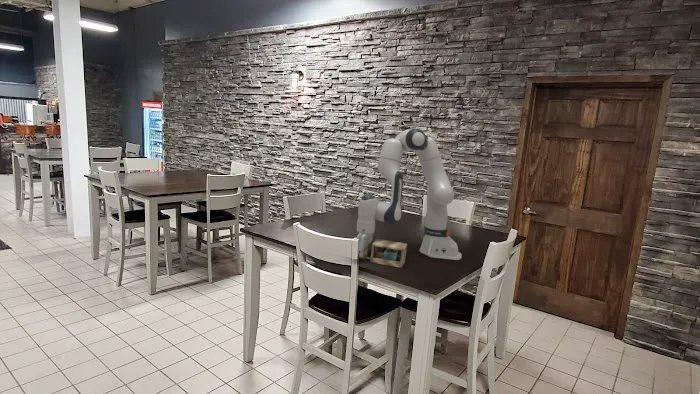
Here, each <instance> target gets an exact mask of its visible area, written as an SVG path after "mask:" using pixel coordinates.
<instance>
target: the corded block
mask: <svg viewBox="0 0 700 394" xmlns="http://www.w3.org/2000/svg"><path fill="white" fill-rule="evenodd" d="M368 249H369V248H367V247H366V248H365V249H364V256H363V257H362V256H360V251H358V252H359V253H358V254H359V255H358V258H359V259H362V260H366V259H367V260H368V259H369V260H371V256H368V252H369V250H368ZM399 251H400V250H396V249H390V248H386V250H385V251H384V258H383V259H387V260H393V261H398V256H399ZM398 262H399V261H398Z"/></svg>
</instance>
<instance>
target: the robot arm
mask: <svg viewBox="0 0 700 394" xmlns="http://www.w3.org/2000/svg"><path fill="white" fill-rule="evenodd" d="M381 147H382V148H381V150H380V154H379V156H378V161H377V170H378V172H379V174H380V175H381V176H382V177H383V178H385V180H387V181H388V182H389V183H390V186H391V190H390V191H391V193H390V194H391V195H390V202H387V201H382V200H380V199H377V196H375V195H372V194H364V195H362V196H361V197H360V199H359V203H358V208H357V209H358V210H357V211H358V212H357V214H358V218H357V221H356V231H357V232H358V234H357V236H356V240H357V239H359V251H358V252H360V256H362V257H363V256H364V249H365V248H366V247H367V248H368V247H369V244H371V243H372V241H373V238H374V234H375V229H376V220H377V221H380V222H383V223H386V224H389V225H395V224H397V223H398V222H399V221H400V220H401V219H402V214H403V212H402V211H403V208H402V201H403V187H404V176H403V173H402V172H401V161H402V156H403V154H404V153H405V152H412V151H415V152H416V154H417V156H418V160H419V163H420V166H421V170H422V175H423V176H424V178H425V180H426V183H427V188H426V217H425V225H424V227H423V234H422V235H423V239H422V243H421V246H420V248H419V249H418V250H419V253H421V254H422V255H425V256H427V257H429V258H434V259H443V260H450V261H451V260H453V261H460V260H461V259H462V255H463V254H462V253H461V252H459V246H458V243H457V242H455V240H454V239H453V238H452V237H451V236H450V235H451V232H450V229H448V228H447V224H448V223H447V222H448V217H449V215H448V205H449V204H452V202H453V200H454V199H455V192H454V190H453V188H452V184H451V181H450V179H449V177H448V174H447V172H446V170H445V167H444V164H443V160H442V159H443V158H442V156H441V153H440V150H439V147H438V145H437V143H436V141H435V139H434V138H433V137H430V136H427V135H426V133H425V132H424V131H423V130H421V129H419V128H408V129H406V130H402V131H399V132H398V133H397V134H396V135H395V136H394V137H393V138H387V139H386V140H385V141H384V143H383V145H382V146H381ZM368 249H369V248H368Z"/></svg>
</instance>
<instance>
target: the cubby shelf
mask: <svg viewBox="0 0 700 394" xmlns="http://www.w3.org/2000/svg"><path fill="white" fill-rule="evenodd" d="M371 243H372V244H371V253H370V257H371V259H370V263H372V264H376V265H378V264H379V265H384V266H388V267H389V266H390V267H396V268H399V269H402V268H403V266H404V265H405V263H406V258H407V257H406V256H407V250H408V249H407V248H408V243H405V242H399V241H392V240H386V239H379V238H376V239H375V240H374V241H373V242H371ZM383 247H384V248H390V249H396V250H399V251H401V252H400V255H398V261H393V260H387V259H384V253H380V251H378V249H379V248H383Z"/></svg>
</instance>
